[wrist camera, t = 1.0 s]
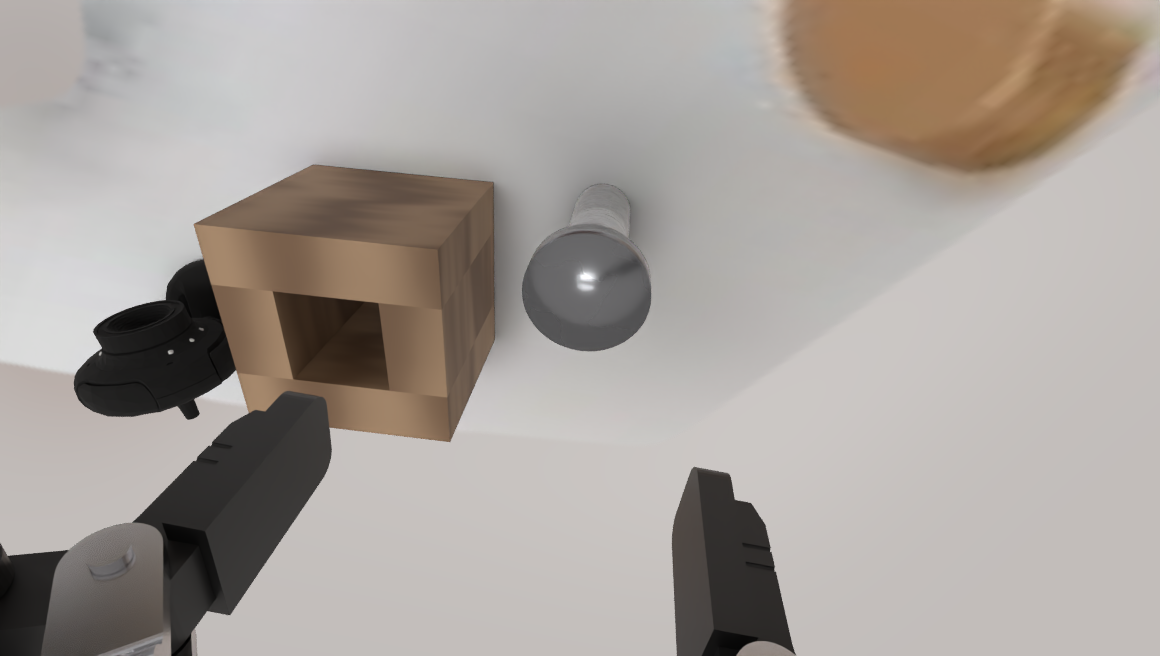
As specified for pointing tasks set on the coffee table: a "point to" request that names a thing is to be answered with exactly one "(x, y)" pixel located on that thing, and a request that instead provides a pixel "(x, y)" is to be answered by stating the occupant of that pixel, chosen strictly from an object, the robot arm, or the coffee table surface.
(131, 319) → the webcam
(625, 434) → the coffee table surface
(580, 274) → the pin
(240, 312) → the block
